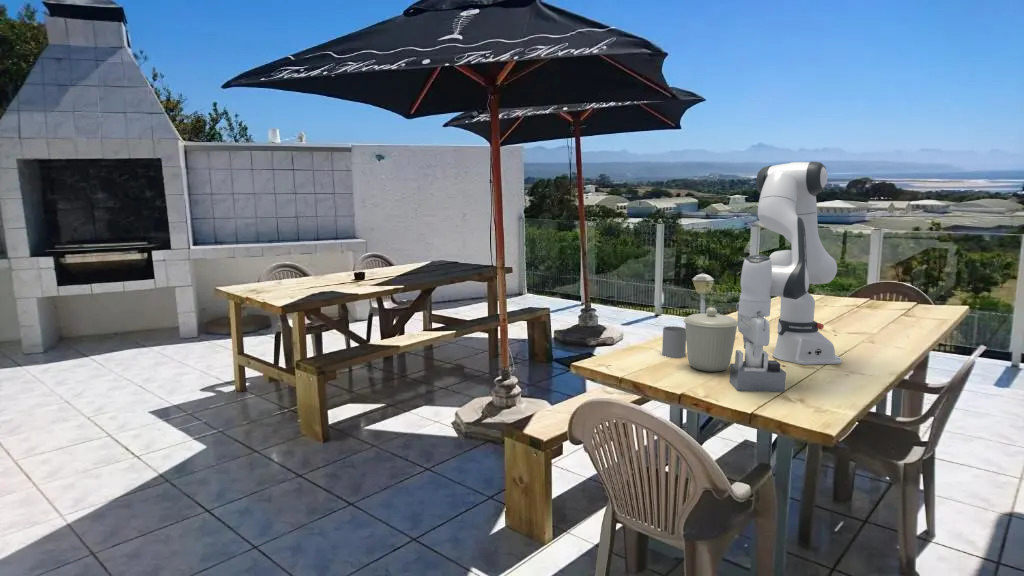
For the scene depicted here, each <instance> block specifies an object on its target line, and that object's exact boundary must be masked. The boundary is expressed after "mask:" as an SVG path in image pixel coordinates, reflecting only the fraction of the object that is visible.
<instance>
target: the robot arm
mask: <svg viewBox="0 0 1024 576" xmlns="http://www.w3.org/2000/svg"><path fill="white" fill-rule="evenodd" d="M827 181H828V171H827V167H826V166H825V164H823V163H822V162H820V161H819V162H818V161H810V162H807V161H804V162H803V161H800V162H799V161H794V162H793V161H791V162H789V163H782V164H776V165H767V166H763V167H761V168H760V169H759V171H758V172H757V174H756V180H755V182H756V183H755V185H756V189H757V191H758V193H759V194H760V195H759V200H758V205H757V218H758V219H757V220H759V222H760V224H762V225H763V227H764V228H766V229H768V230H769V231H771V232H774V233H776V234H779V235H781V236H783V237H784V238H785V240H787V241H788V242H789V243H790V244H791V249H784V250H783V249H782V250H776V251H774V252H772V253H771V254H770V255H769V256H767V255H765V254H764V255H763V254H755V255H753V254H752V255H748V256H747V257H744V260H743V264H742V268H741V275H740V288H741V291H740V295H739V302H737V303H736V306H735V307H736V308H735V309H736V310H737V321H738V326H737V330H738V332H739V333H741V334H742V339H743V348H744V350H745V346H746V341H749V340H750V341H752V342H753V343H754V347H755V348H754V351H753V356H754V357H755V358H760V355H761V351H762V348H763V349H764V347H767V346H769V344H770V336H771V335H770V330H771V329H770V321H769V320H768V319H767V318H768V317H770V316H771V304H772V297H780V309H779V310H780V311H779V312H780V314H779V315H780V316H779V318H778V323H777V340H776V343H775V344H776V345H775V348H774V350H773V353H772V357H773V358H775V359H776V360H780V361H785V362H791V363H794V364H799V365H802V366H803V365H804V366H806V365H837V364H839V365H840V364H842V363H843V361H842V358H841V357H840V356H838V355H836V350H835V349H836V348H835V346H834V344H833V342H832V341H831V340H830V339H828V338H827V337H825V336H824V335H823V334H822V333H821V332H820V331H819V330H823V329H824V328H825V325H824V324H823V323H821V322H817V321H816V320H814V317H815V309H816V308H815V307H816V306H815V305H816V301H815V298H814V296H813V295H811V293H809V292H808V291H809V288H810V284H811V285H823V284H829V283H831V282H832V281H833V280H834V278H835V277H836V275H837V273H838V264H837V261H836V260H835V258H834V257H833V256H831V255H830V254H829V253H828V252H827V250H826V248H825V247H824V245H823V244H822V241H821V238H820V235H819V227H818V203H817V196H818V194H819V193H821V192H822V191H823V190H824V189H826V185H827Z"/></svg>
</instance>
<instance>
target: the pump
mask: <svg viewBox="0 0 1024 576" xmlns="http://www.w3.org/2000/svg"><path fill="white" fill-rule="evenodd" d="M754 348H755V347H754V343H753V342H752V341H750V340H749V341H746V346H745V349H744V361H745V362H744V367H754V368H762V355H763V351H764V347H763V348H762V351H761V355H760V358H755V357H754V356H753V351H754Z"/></svg>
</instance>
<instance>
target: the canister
mask: <svg viewBox="0 0 1024 576" xmlns="http://www.w3.org/2000/svg"><path fill="white" fill-rule="evenodd" d="M682 321H683V322H684V323H685V325H684V328H685V329H686V352H687V361H688V364H689V365H690V366H691V367H692V368H693V369H696V370H698V371H702V372H703V371H704V372H709V373H710V372H713V373H714V372H715V373H716V372H722V371H726V370H727V369H728V368H729V367H730V363H731V362H732V356H733V352H734V346H735V341H736V335H737V330H738V320H737V319H735V318H734V317H731V316H729V315H725V314H719V313H718V310H717V308H715V307H710V306H709V307H707V308H706V310H705V313H693V314H690V315H688V316H686V317H684V318H683V320H682Z"/></svg>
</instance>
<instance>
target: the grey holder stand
mask: <svg viewBox="0 0 1024 576" xmlns="http://www.w3.org/2000/svg"><path fill="white" fill-rule="evenodd" d="M734 359H735V360H734V363H731V362H730V364H729V378H728V379H729V380H728V381H729V383H730V384H731V385H732V386H733V388H734V389H735V390H736V391H738V392H739V391H741V392H765V391H769V393H771V392H772V393H785V392H786V381H787V372H786V371H785V370H783V368H781V363H780V362H779V361H777V359H776V360H775V359H774V360H772V359H770V360H769V353H768V352H767V351H765V350H763V355H762V368H754V367H744V362H745V360H744V353H743V352H742V350H738V349H736V350H735V355H734Z"/></svg>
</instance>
